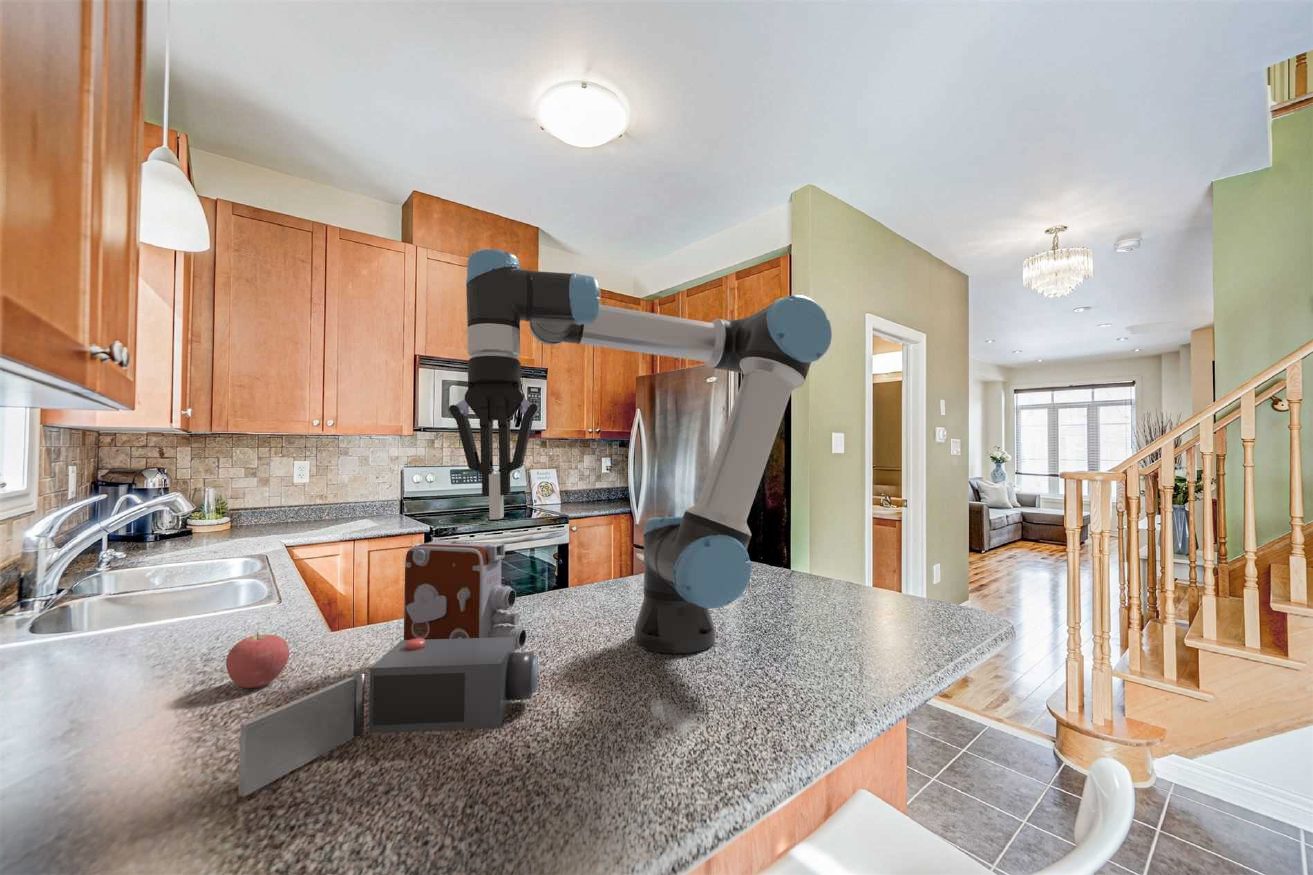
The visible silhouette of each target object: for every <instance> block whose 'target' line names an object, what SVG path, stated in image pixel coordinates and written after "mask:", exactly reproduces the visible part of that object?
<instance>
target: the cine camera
mask: <svg viewBox="0 0 1313 875" xmlns="http://www.w3.org/2000/svg"><path fill="white" fill-rule="evenodd" d="M505 551H506V543H505V542H502V543H500V542H498V543H497V542H485V541H482V542H480V541H458V540H433V541H429V542H425V543H421V544H418V545H414V546H412V547H410V548H408V550H407V552H406V554H405V560H404V587H403V588H404V589H403V590H404V591H403V593H404V594H403V595H404V597H403V599H404V600H403V640H411V639H416V638H422V639H425V640H429V639H463V638H497V637H515V650H520V649H523V648H524V647H525V645H526V642H527V630H526V629H525V628H523V627H520V626H519V627H518V626H517V625H518V624H519V621H520V614H519V613H516V612H511V613H509V612H508V613H507V612H502V611H508V610H510V609H511V608H513V607H514V606H515V602H516V598H517V594H516V591H515V589H513V588H512V587H511V586H510V585H505V586H503V585H502V559H504V558H506V557H505V556H506V552H505ZM501 610H502V611H501ZM506 624H507V625H506ZM508 624H509V625H508Z"/></svg>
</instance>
